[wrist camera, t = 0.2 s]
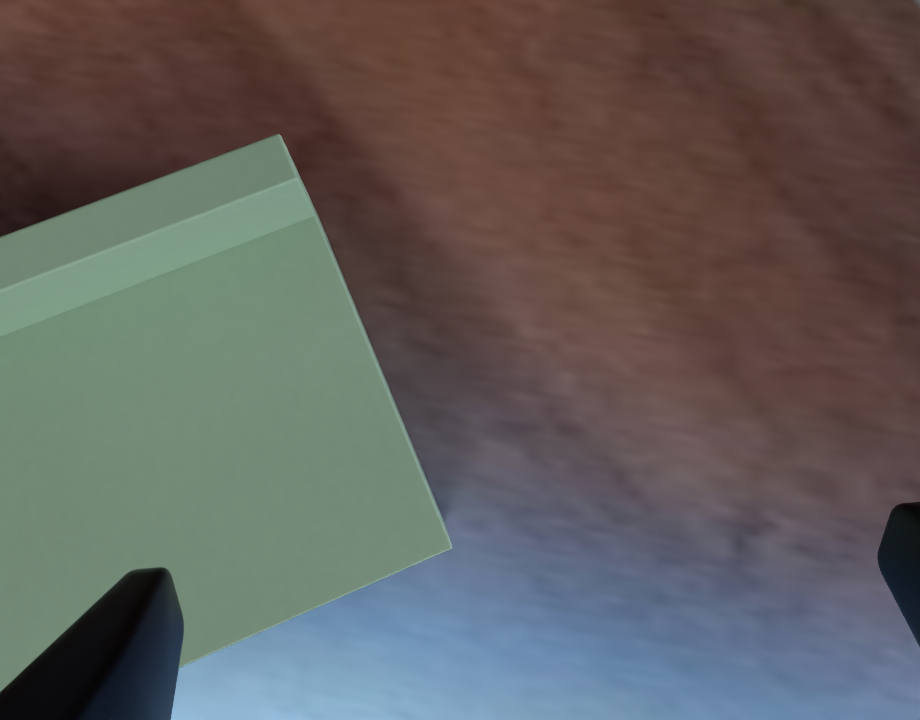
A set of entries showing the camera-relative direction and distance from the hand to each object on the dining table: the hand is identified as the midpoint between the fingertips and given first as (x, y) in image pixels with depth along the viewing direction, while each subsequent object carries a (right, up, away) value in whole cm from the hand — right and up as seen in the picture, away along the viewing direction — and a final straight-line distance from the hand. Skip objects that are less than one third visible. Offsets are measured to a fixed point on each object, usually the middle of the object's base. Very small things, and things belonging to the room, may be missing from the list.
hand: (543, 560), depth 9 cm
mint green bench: (-11, -1, +14) cm, 18 cm away
